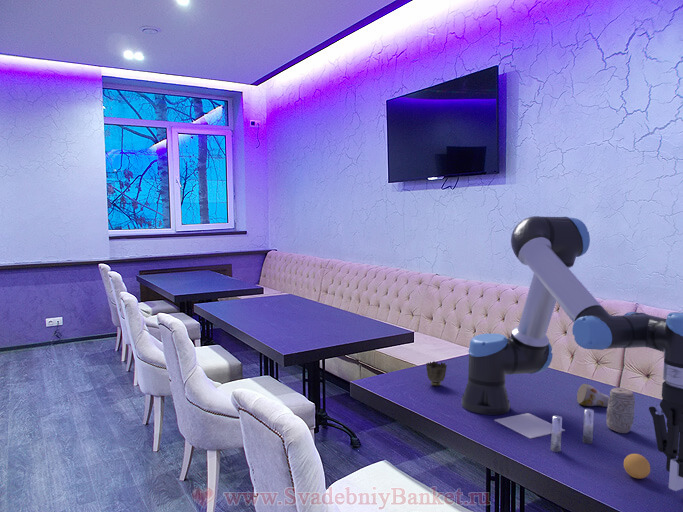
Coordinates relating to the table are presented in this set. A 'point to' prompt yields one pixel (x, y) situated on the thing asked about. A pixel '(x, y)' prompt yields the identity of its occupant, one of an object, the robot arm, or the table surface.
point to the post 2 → (588, 426)
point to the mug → (591, 396)
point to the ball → (637, 466)
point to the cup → (436, 372)
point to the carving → (620, 410)
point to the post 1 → (556, 433)
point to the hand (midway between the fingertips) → (675, 488)
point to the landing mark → (527, 425)
